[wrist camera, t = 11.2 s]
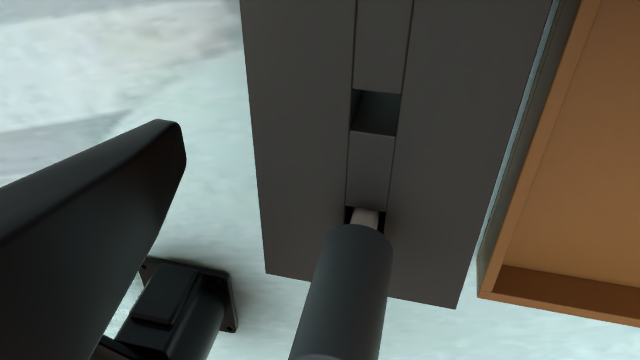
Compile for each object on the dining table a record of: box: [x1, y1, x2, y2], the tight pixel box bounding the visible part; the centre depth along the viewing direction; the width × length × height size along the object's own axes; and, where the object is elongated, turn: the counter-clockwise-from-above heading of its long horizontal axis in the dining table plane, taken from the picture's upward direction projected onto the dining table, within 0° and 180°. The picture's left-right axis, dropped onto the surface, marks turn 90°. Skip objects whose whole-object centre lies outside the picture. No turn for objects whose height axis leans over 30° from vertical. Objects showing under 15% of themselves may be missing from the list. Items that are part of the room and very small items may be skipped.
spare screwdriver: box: [288, 207, 394, 360], centre depth 21 cm, size 3×3×11 cm
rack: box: [239, 0, 553, 309], centre depth 20 cm, size 10×21×4 cm, turn 0°
